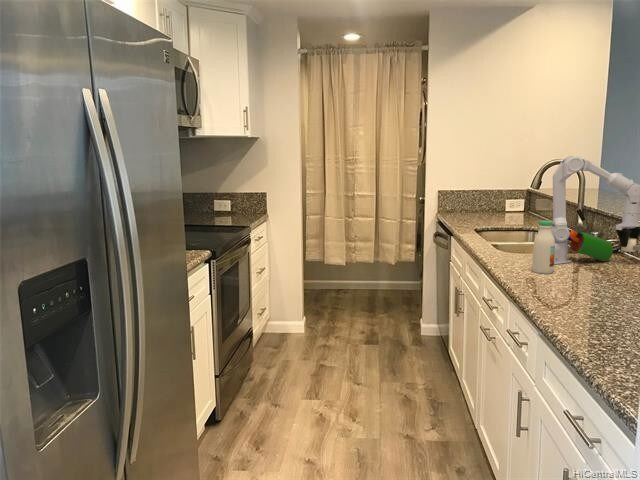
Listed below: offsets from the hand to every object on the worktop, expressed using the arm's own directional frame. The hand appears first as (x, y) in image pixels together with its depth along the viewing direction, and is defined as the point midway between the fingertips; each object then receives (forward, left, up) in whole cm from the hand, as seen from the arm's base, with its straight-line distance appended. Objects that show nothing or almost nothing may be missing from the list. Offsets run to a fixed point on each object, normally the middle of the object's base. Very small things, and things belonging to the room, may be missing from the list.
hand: (628, 246), depth 218 cm
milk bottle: (-40, +7, -8) cm, 41 cm away
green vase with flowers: (-1, +10, -3) cm, 10 cm away
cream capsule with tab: (0, 0, -2) cm, 2 cm away
